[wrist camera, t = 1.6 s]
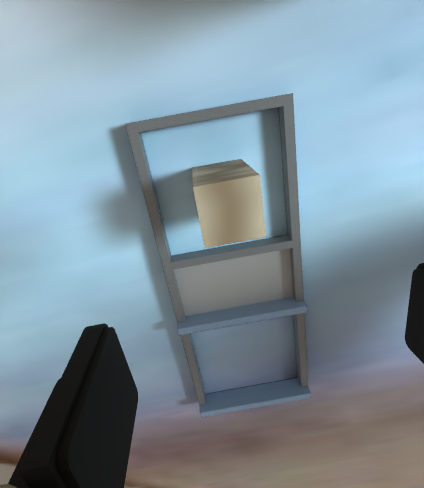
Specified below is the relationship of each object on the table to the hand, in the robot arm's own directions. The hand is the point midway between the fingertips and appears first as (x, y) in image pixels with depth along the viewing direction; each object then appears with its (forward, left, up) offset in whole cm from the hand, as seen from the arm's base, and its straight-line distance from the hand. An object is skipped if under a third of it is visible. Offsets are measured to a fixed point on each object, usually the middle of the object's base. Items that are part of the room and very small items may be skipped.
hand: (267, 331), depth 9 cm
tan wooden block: (0, 0, -20) cm, 20 cm away
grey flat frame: (0, +10, -20) cm, 23 cm away
